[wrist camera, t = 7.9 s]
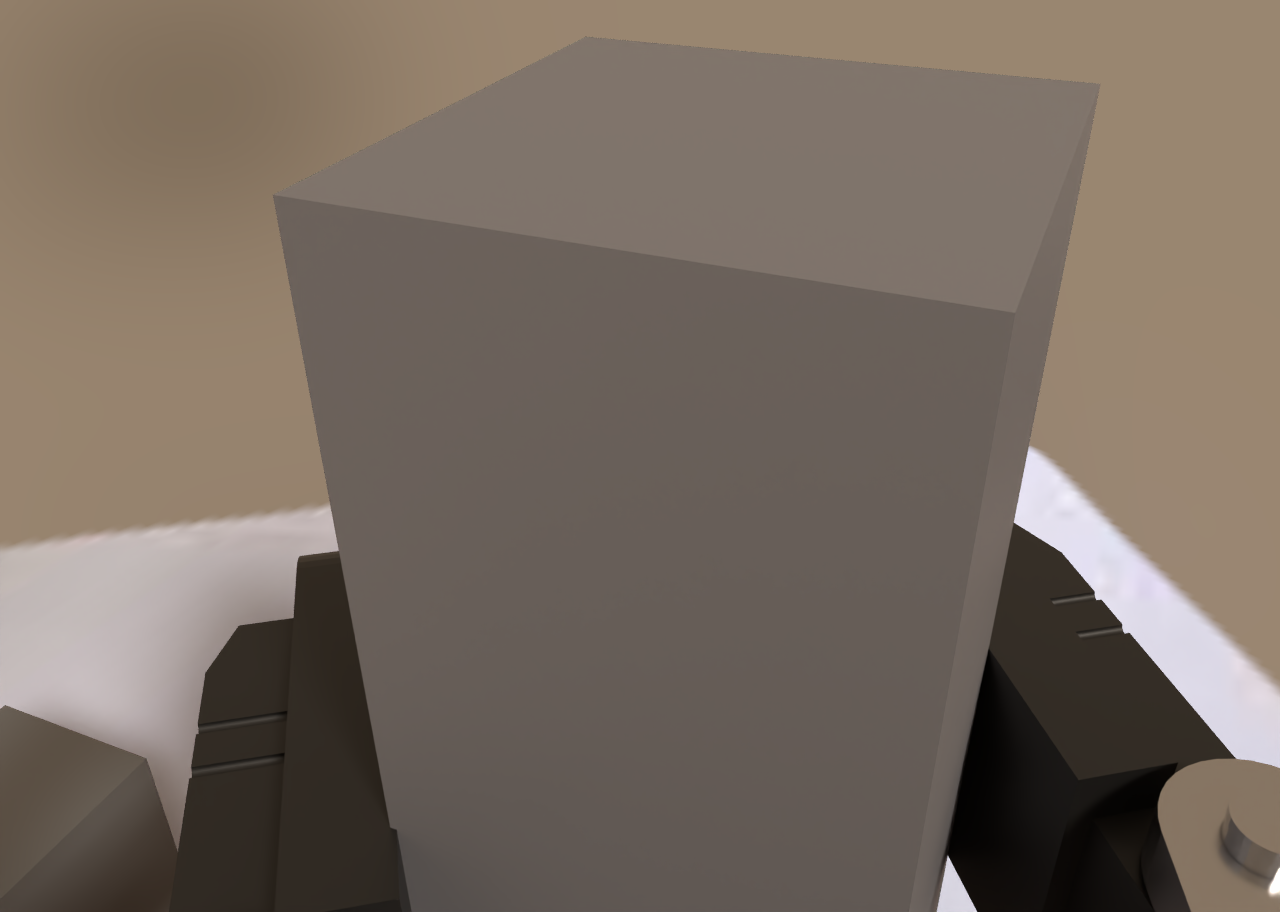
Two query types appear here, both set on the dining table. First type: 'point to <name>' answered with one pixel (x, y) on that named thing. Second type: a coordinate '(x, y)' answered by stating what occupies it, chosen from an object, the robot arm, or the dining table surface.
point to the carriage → (683, 463)
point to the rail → (78, 824)
